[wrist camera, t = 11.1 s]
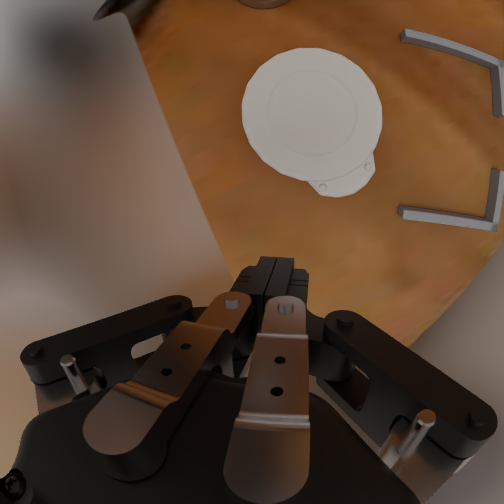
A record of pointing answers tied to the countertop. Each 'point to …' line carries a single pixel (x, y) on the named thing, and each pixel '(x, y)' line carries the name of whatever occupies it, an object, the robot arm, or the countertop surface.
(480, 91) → the countertop surface
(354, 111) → the lid
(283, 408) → the robot arm
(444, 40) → the lid holder
